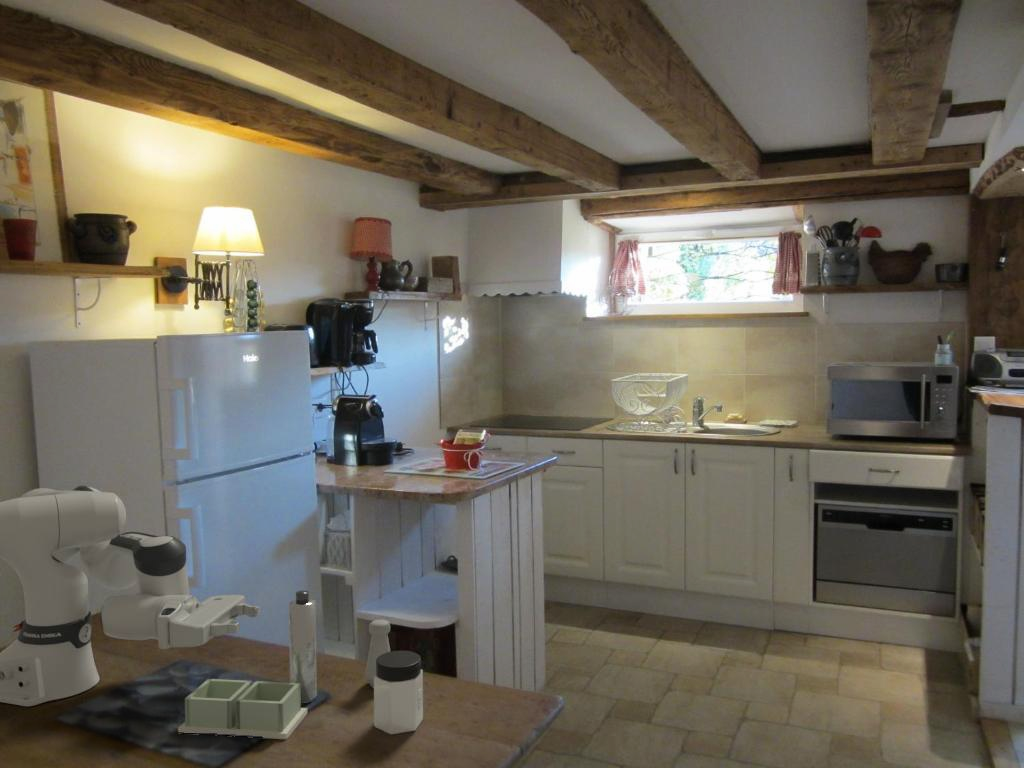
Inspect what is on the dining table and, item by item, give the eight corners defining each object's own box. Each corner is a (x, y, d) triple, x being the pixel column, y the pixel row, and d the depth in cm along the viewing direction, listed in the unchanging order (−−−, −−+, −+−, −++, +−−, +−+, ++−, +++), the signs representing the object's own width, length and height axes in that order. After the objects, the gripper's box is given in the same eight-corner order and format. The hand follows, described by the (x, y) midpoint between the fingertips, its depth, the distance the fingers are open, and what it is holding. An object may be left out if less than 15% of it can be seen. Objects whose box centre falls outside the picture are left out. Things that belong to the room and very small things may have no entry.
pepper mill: (286, 703, 154) (284, 595, 153) (296, 692, 159) (294, 588, 158) (311, 704, 154) (310, 596, 153) (320, 693, 159) (319, 588, 158)
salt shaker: (388, 691, 160) (387, 627, 159) (361, 689, 161) (360, 625, 160) (398, 679, 165) (397, 617, 165) (371, 677, 167) (371, 615, 166)
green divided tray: (178, 733, 143) (177, 700, 142) (205, 708, 152) (205, 677, 152) (286, 739, 140) (286, 705, 140) (307, 713, 150) (307, 681, 150)
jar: (413, 737, 141) (412, 670, 141) (368, 733, 143) (368, 666, 142) (427, 714, 150) (427, 651, 149) (386, 710, 151) (385, 648, 151)
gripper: (206, 615, 170) (269, 617, 169) (154, 652, 150) (226, 654, 149) (205, 586, 170) (268, 587, 169) (153, 619, 150) (225, 621, 148)
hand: (248, 619), depth 158 cm, fingers open, 8 cm apart
